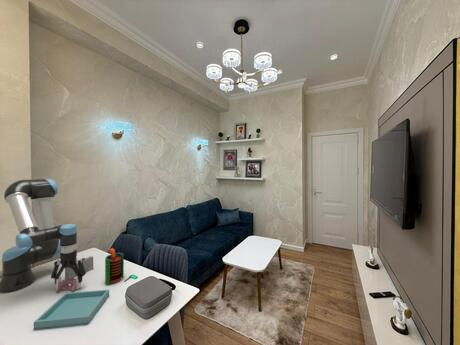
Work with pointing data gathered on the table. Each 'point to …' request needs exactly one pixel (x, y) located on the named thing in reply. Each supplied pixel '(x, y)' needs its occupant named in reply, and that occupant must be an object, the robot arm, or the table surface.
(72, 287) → the video game controller
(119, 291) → the table surface
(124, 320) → the table surface
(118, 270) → the motor
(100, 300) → the tray
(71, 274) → the cassette player
